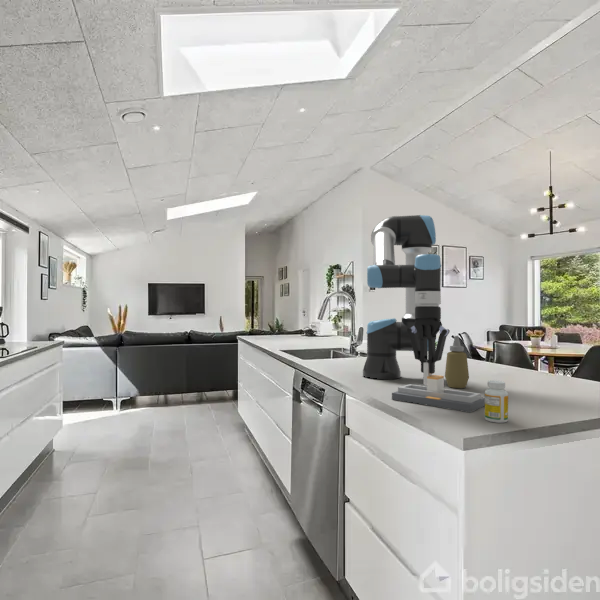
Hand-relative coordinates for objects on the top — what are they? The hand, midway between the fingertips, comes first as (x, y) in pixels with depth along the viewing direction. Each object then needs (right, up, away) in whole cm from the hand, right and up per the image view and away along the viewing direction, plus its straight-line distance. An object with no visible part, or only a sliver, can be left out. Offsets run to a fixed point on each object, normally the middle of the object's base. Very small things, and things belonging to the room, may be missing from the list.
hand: (427, 383), depth 133 cm
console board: (+2, -5, -2) cm, 6 cm away
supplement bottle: (+10, -5, -23) cm, 26 cm away
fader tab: (+2, -3, -1) cm, 4 cm away
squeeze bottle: (+17, -6, +23) cm, 29 cm away
